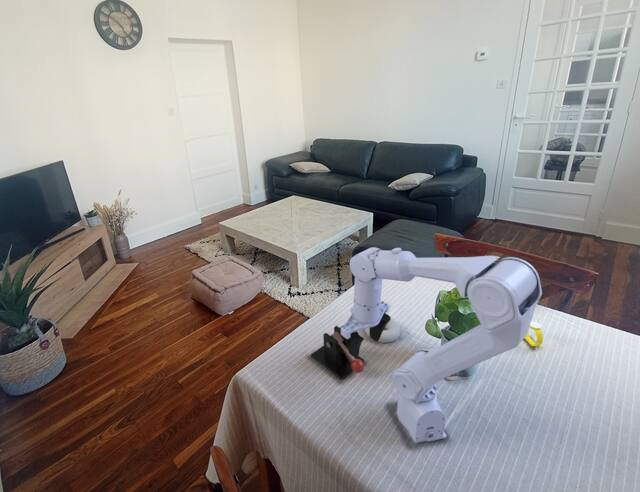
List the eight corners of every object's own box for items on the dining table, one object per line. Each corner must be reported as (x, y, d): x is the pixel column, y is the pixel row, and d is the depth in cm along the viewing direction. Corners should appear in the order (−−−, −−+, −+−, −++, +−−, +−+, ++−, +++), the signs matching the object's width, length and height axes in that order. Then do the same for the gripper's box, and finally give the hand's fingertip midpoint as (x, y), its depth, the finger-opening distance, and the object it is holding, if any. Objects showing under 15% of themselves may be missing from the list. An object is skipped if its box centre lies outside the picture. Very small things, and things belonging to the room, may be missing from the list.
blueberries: (427, 370, 84) (428, 364, 84) (447, 356, 88) (447, 350, 88) (453, 387, 79) (454, 381, 78) (472, 371, 83) (473, 365, 82)
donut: (404, 346, 93) (396, 322, 102) (404, 336, 92) (396, 313, 101) (367, 345, 94) (362, 322, 104) (367, 336, 93) (362, 313, 102)
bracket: (364, 363, 88) (364, 336, 85) (340, 381, 83) (339, 353, 80) (333, 342, 97) (332, 316, 94) (310, 357, 92) (308, 331, 89)
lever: (363, 370, 85) (368, 365, 82) (355, 377, 83) (360, 372, 81) (335, 335, 90) (338, 329, 88) (326, 340, 88) (330, 335, 86)
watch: (518, 335, 93) (521, 317, 91) (528, 334, 93) (532, 316, 91) (532, 350, 88) (536, 331, 85) (543, 350, 87) (548, 331, 85)
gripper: (373, 279, 81) (370, 324, 86) (330, 304, 73) (330, 352, 78) (398, 292, 76) (393, 339, 81) (356, 320, 68) (353, 370, 73)
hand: (364, 346), depth 79 cm, fingers open, 7 cm apart
